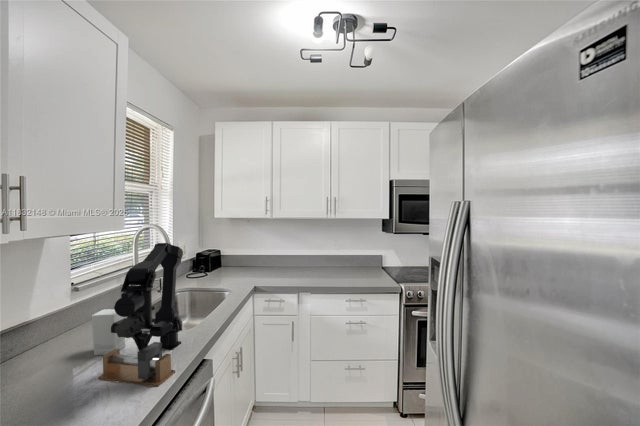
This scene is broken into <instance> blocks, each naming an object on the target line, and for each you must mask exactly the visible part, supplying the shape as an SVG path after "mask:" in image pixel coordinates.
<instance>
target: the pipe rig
mask: <svg viewBox="0 0 640 426" xmlns="http://www.w3.org/2000/svg"><path fill="white" fill-rule="evenodd" d="M120 352H121V350H120V349H114V350H113V351H111V352H109V353H107V354H105V355H102V374H100V375H99V376H97V380H98V379H99V381H106V380H107V381H108V382H114V381H119V382H118V383H123V382H126V383H125V384H131V383H133V384H134V385H142V386H149V387H157V388H158V387H160V386H161V385H162V384H163V383H165V381H167V380H168V379H169V378H170V377H172V376H173V375H174V374H176V370H174V369H172V355H171V354H172V353H165V354H164V355H162V357H161V358H155V357H152V358H151V359H149V361H150V368H156V373H154V374H153V375H152V376H150V377H149V378H148V379H139V378H138V355H133V354H132V355H131V354H123V353H120ZM107 381H106V382H107ZM133 384H132V385H133Z"/></svg>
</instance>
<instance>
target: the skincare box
mask: <svg viewBox="0 0 640 426" xmlns="http://www.w3.org/2000/svg"><path fill="white" fill-rule="evenodd" d="M124 318H125V317H121V316H119V315H118V314H117V313H116V312H115V310H114V308H112V309H111V308H110V309H108V308H107V309H101V310H99V311H97V312H95V313H93V314H92V315H91V324H92V328H91V329H92V339H93V340H92V341H93V353H94V354H93V355H94V356H103V355H105V354H107V353H109V352H111V351H113V350H114V349H120V351H122V350H123V349H124V348H126V338H125V337H118V336H117V333H111V326H112V324H113V323H115V322H117V321H119V320H122V319H124Z"/></svg>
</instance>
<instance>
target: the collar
mask: <svg viewBox="0 0 640 426" xmlns="http://www.w3.org/2000/svg"><path fill="white" fill-rule="evenodd" d="M137 356H138V378H139V379H148V378H149V377H150V376H152V375H153V374H154V373H156V368H150V361H149V359H151V358H152V357H155V358H161V357H162V356H163V349H162V343H161V342H160V341H153V342H151V343H149V344H148V346H147V347H145V348H143V349H142V350H140V351H139V350H138V351H137Z"/></svg>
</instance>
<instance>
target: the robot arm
mask: <svg viewBox="0 0 640 426" xmlns="http://www.w3.org/2000/svg"><path fill="white" fill-rule="evenodd" d="M183 256H184V250H183V249H182V248H181V247H180V246H177V245H174V244H171V243H170V242H169V243H168V242H157V243H155V244H154V246H153V249H152V250H151V251H150V252H149V253H148V255H147V256H146V257H145V258H144V259H143V260H142V262H139V263H137V264H134V265H133V266H132V267H131V268H129V269H128V271H127V272H126V275H125V277H124V281H123V284H122V287H121V291H120V292H121V294H120V296H121V297H120V298H119V299H118V300H117V301H115V303H114V306H113V309H114V310H115V312H116V313H117V314H118V315H119V316H121V317H124V319H122V320H119V321H117V322H115V323H113V324H112V326H111V333H117V336H118V337H125V339H129V338H132V340H133V341H134V343H135V345H136V346H137V349H138V352H139V351H140V350H142V349H143V348H145V347H147V346H148V345H150V343H151V339H152V337H157V338H159V342H161V343H162V350H169V351H171V350H173V349H175V348H176V347H177V346H179V345H180V344H182V341H181V340H179V338H178V337H179V332H181V331H183V321H182V319H181V317H180V316H179V314H180V313H179V310H178V309H177V307H176V306H175V302H176V301H175V300H176V283H177V269H178V267H179V265H180V264H181V262H182V258H183ZM160 265H161V267H162V269H163V270H162V272H163V273H162V290H161V301H160V302H161V303H160V304H161V305H160V307H159V309H158V311H156V312H155V314H154V318H153V315H152V314H153V311H154V310H156V308H155V305H154V306H153V305H152V304H153V303H152V301H153V300H152V289H153V288H154V283H155V281H156V277H157V273H156V271H157V269H158V267H159V266H160Z"/></svg>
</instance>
